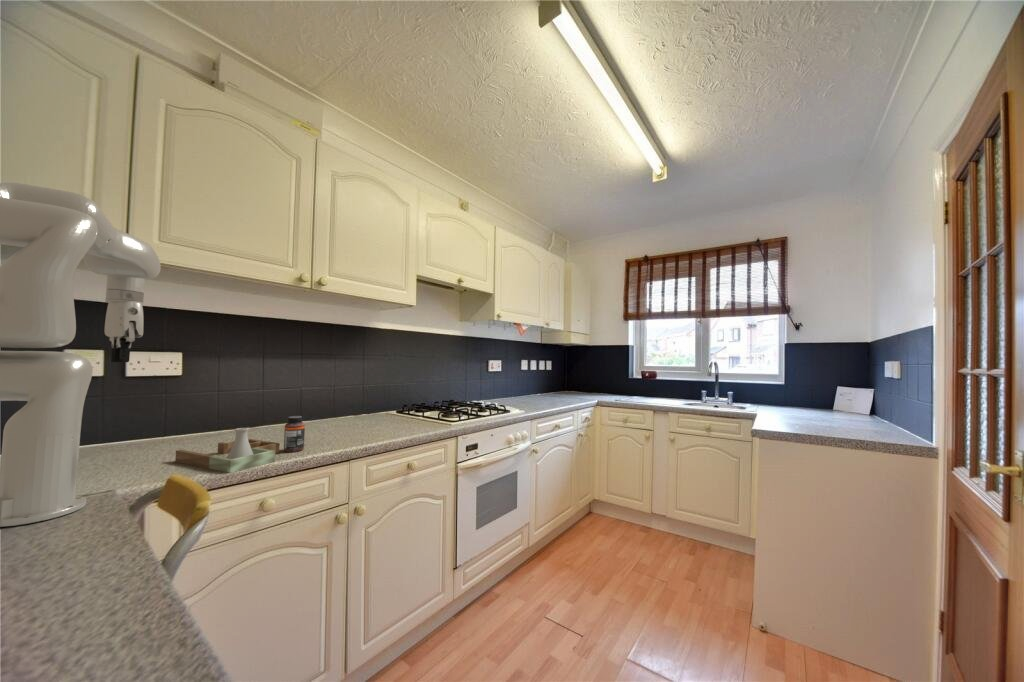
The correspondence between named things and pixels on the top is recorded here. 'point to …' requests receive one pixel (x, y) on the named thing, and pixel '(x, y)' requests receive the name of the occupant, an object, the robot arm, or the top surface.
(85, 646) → the top surface
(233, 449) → the flask
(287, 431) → the supplement bottle
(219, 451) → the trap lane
